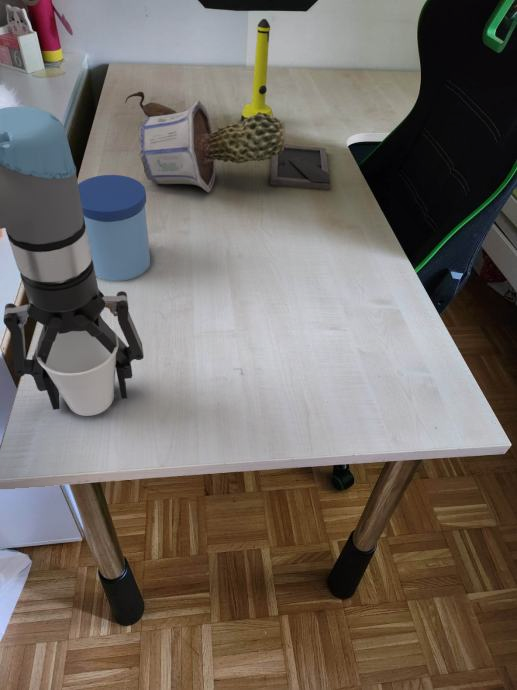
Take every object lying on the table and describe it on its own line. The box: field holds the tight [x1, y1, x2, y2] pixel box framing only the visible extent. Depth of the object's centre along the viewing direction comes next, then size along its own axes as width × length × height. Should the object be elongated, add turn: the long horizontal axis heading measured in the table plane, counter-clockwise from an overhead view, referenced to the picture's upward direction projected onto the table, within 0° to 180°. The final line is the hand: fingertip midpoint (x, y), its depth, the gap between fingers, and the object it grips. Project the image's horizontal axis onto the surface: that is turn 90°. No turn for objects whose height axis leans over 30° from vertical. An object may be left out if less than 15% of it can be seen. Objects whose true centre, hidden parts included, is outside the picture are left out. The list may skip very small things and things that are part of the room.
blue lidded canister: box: [78, 174, 151, 282], centre depth 89 cm, size 12×12×14 cm
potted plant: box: [138, 100, 286, 193], centre depth 109 cm, size 18×18×30 cm
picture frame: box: [270, 144, 331, 191], centre depth 123 cm, size 13×2×18 cm
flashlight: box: [240, 18, 274, 122], centre depth 130 cm, size 25×9×9 cm
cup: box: [35, 324, 119, 417], centre depth 68 cm, size 10×10×11 cm
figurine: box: [125, 91, 178, 118], centre depth 131 cm, size 14×4×9 cm, turn 95°
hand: (90, 396), depth 71 cm, fingers closed on cup, 8 cm apart
